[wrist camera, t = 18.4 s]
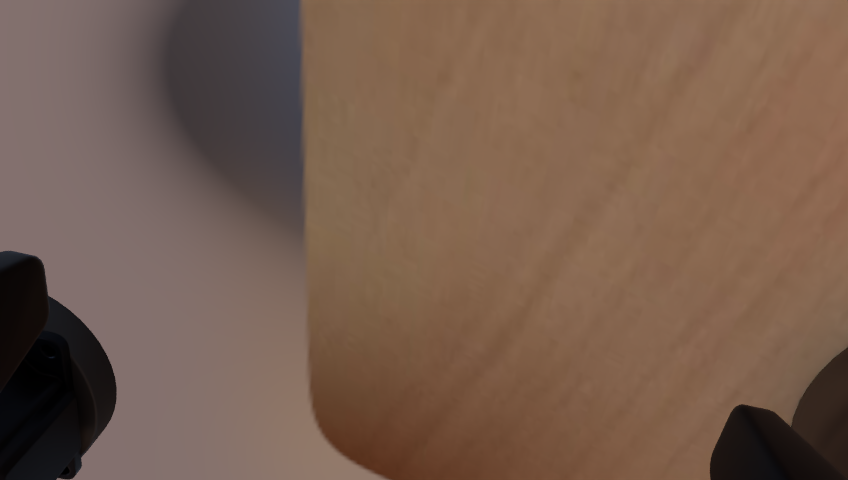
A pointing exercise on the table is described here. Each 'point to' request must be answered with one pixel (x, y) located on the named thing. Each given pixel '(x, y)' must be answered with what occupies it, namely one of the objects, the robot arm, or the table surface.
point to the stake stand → (827, 413)
